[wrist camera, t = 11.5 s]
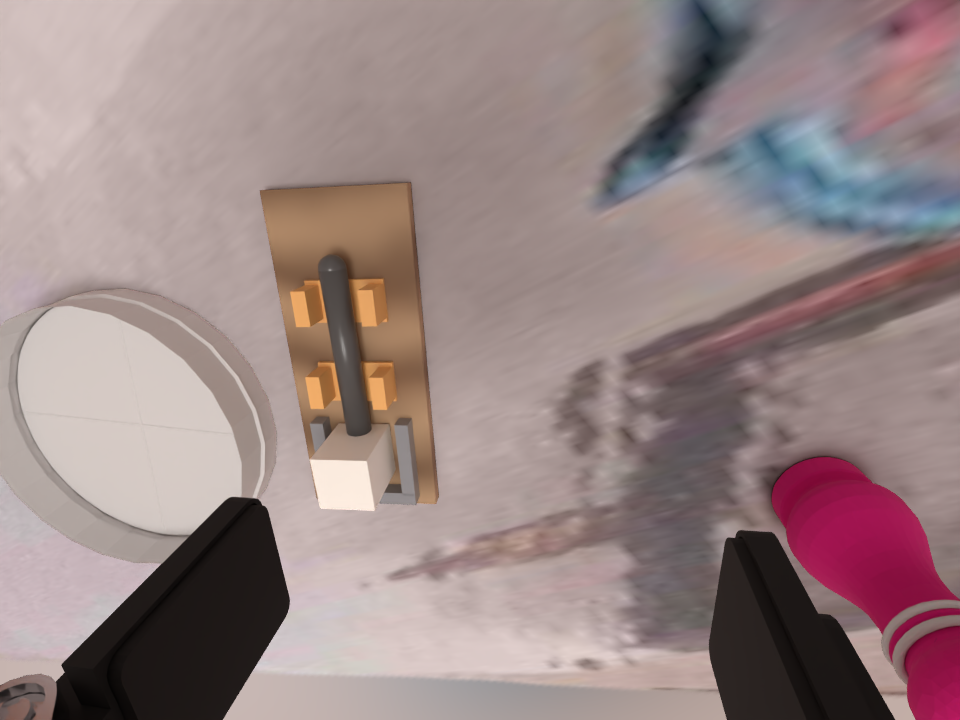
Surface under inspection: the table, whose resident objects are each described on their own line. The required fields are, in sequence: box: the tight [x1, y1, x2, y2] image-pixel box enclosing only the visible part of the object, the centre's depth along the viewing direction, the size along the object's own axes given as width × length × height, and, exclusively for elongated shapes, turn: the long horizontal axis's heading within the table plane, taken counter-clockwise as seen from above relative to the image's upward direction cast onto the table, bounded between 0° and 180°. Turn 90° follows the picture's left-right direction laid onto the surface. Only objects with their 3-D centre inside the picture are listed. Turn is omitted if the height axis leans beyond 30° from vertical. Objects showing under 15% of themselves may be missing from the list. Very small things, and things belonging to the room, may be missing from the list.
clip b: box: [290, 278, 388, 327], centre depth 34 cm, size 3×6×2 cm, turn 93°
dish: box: [0, 288, 277, 563], centre depth 40 cm, size 22×22×5 cm
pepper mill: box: [772, 457, 960, 720], centre depth 27 cm, size 7×7×20 cm
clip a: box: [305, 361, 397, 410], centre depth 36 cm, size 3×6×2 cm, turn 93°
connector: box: [310, 254, 396, 511], centre depth 34 cm, size 17×4×5 cm, turn 3°
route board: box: [260, 183, 439, 504], centre depth 37 cm, size 24×10×1 cm, turn 3°
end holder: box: [310, 417, 420, 505], centre depth 39 cm, size 7×8×1 cm
